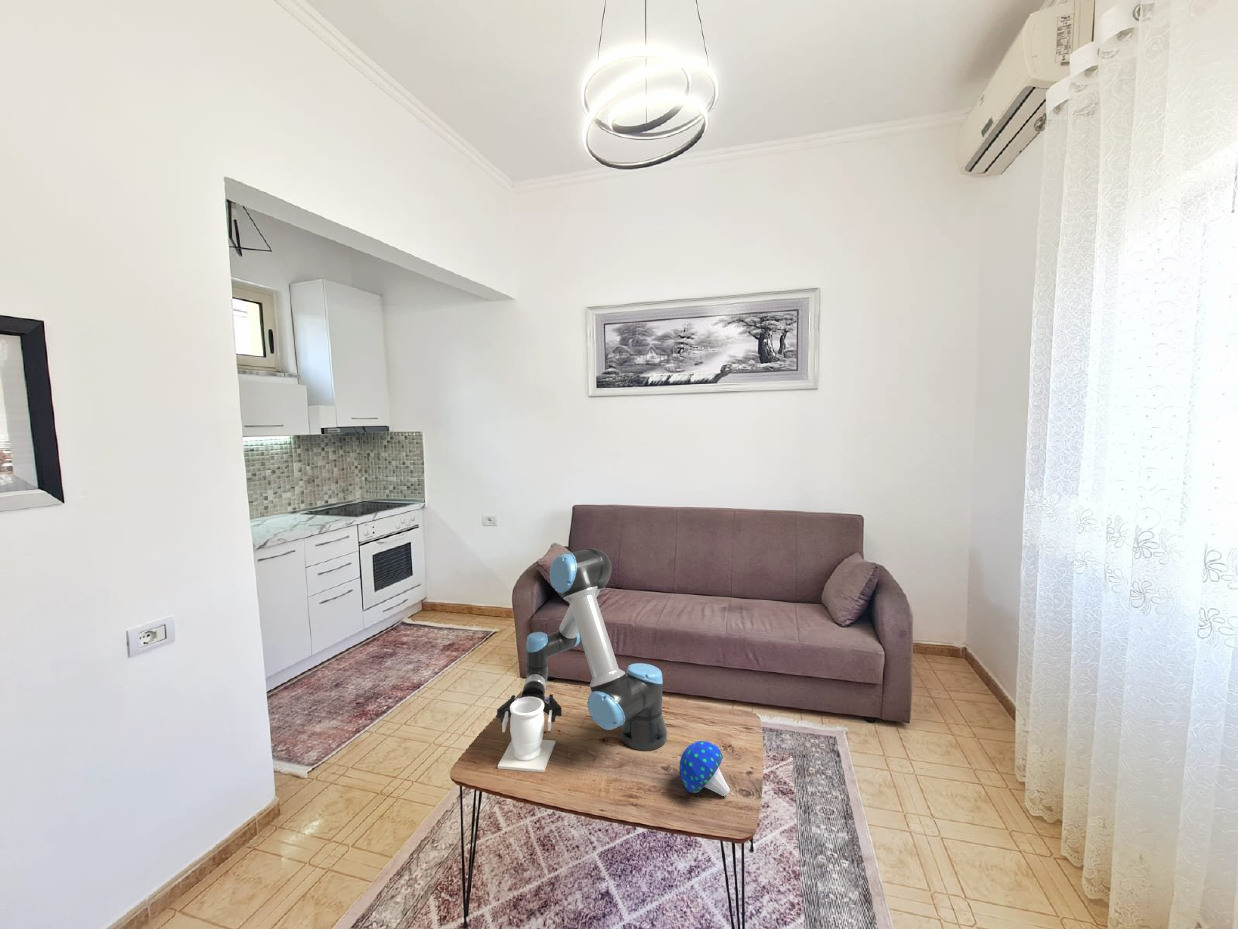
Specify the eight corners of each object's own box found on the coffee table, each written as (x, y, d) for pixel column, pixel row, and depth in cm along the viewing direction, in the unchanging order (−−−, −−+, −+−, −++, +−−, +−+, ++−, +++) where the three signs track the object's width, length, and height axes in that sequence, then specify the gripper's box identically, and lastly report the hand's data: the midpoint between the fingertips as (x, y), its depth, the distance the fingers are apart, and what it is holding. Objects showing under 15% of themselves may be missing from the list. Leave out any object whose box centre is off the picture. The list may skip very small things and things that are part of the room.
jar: (536, 766, 145) (536, 716, 144) (504, 761, 147) (504, 712, 146) (549, 744, 155) (549, 698, 155) (518, 740, 157) (518, 694, 157)
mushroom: (743, 786, 127) (698, 740, 132) (708, 826, 128) (664, 779, 133) (744, 763, 141) (703, 722, 145) (712, 799, 142) (673, 758, 146)
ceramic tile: (555, 743, 157) (555, 740, 157) (543, 772, 143) (543, 770, 143) (513, 739, 159) (513, 737, 159) (497, 768, 145) (497, 766, 145)
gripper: (570, 700, 170) (568, 737, 149) (497, 702, 168) (484, 740, 147) (570, 679, 169) (568, 713, 148) (497, 681, 168) (484, 716, 147)
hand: (526, 727), depth 147 cm, fingers open, 13 cm apart
